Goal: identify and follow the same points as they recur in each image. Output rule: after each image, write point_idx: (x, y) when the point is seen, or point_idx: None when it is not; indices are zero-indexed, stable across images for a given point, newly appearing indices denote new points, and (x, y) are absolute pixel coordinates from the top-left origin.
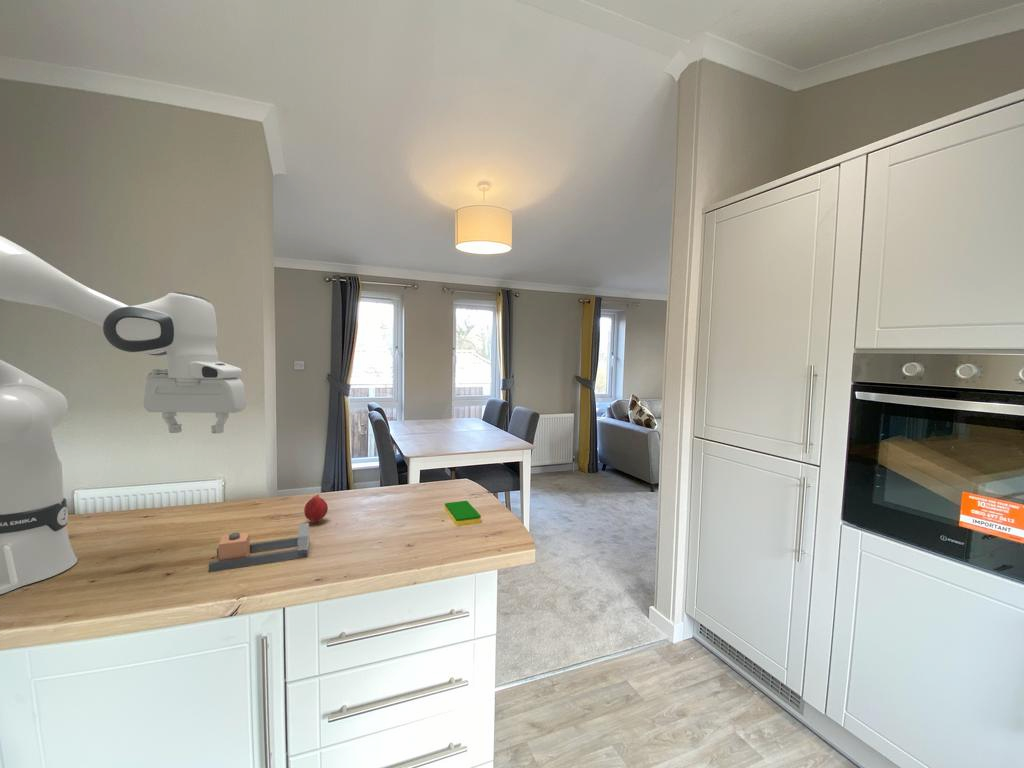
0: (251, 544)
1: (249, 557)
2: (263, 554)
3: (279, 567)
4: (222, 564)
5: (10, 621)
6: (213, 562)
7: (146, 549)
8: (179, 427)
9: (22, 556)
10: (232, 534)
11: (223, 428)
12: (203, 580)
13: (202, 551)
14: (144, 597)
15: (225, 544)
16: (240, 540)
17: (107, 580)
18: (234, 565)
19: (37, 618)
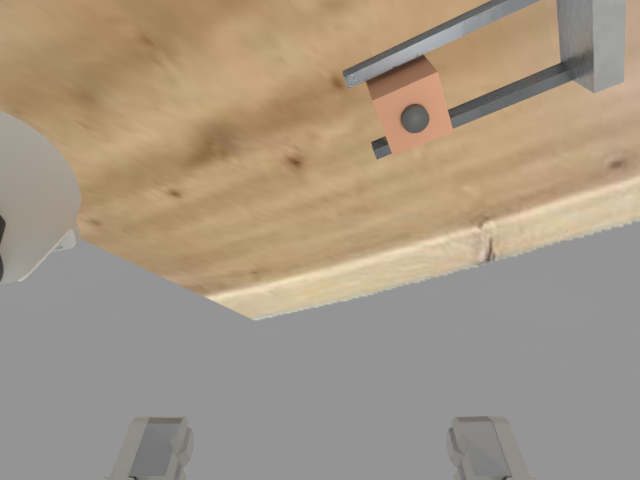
0: (427, 48)
1: (456, 125)
2: (485, 108)
3: (524, 121)
4: None
5: (192, 284)
6: (383, 152)
7: (113, 45)
8: (176, 457)
9: (42, 249)
10: (410, 120)
11: (515, 442)
12: (384, 180)
13: (281, 47)
14: (321, 231)
15: (407, 149)
16: (438, 129)
17: (198, 190)
18: None
19: (219, 278)
